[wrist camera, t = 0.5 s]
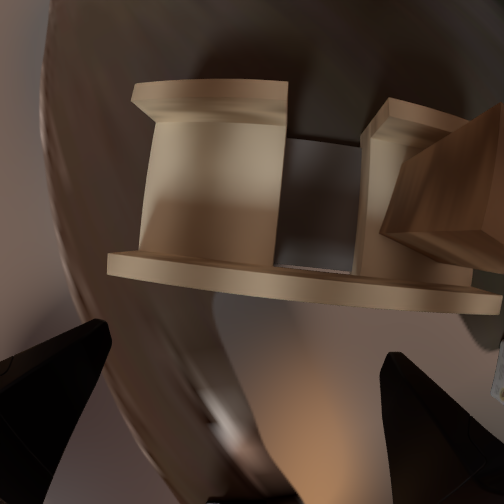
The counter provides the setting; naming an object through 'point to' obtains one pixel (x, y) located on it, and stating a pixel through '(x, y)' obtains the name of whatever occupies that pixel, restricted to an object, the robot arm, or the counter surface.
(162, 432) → the counter surface
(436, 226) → the walnut block
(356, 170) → the tunnel deck
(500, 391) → the coffee box
